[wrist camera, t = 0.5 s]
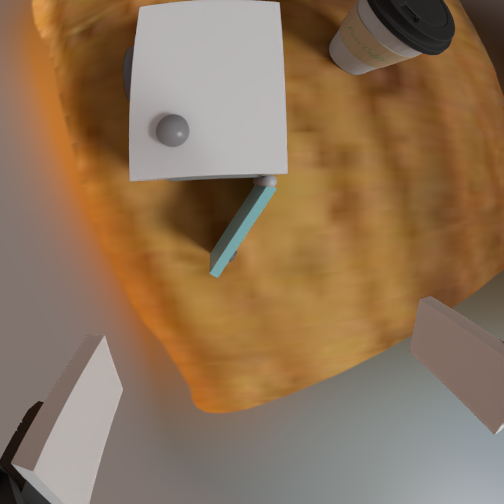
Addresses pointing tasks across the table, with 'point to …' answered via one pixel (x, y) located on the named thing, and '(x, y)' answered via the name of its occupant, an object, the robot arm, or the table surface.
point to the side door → (241, 223)
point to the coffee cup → (390, 33)
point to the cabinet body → (206, 91)
